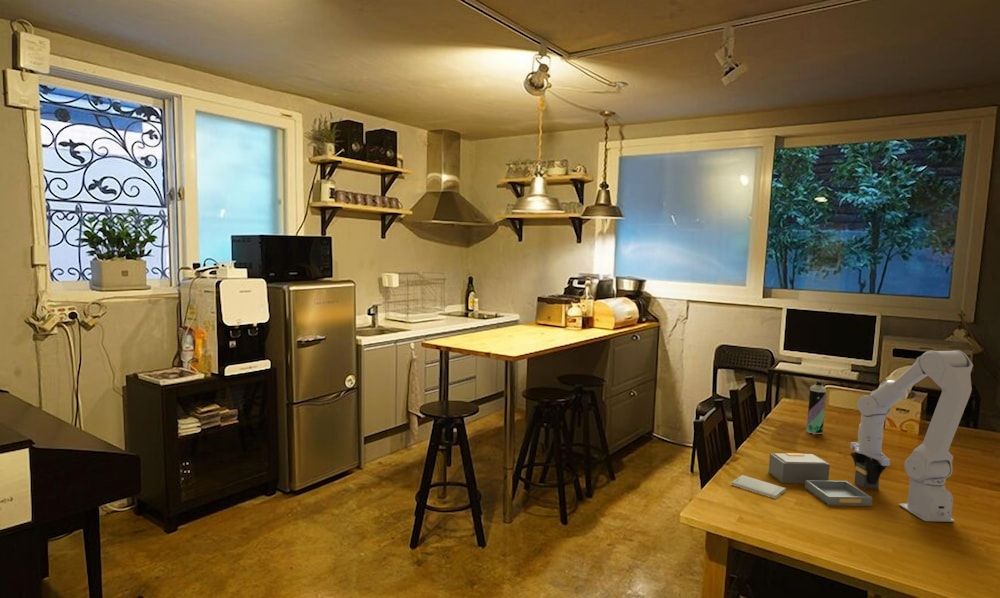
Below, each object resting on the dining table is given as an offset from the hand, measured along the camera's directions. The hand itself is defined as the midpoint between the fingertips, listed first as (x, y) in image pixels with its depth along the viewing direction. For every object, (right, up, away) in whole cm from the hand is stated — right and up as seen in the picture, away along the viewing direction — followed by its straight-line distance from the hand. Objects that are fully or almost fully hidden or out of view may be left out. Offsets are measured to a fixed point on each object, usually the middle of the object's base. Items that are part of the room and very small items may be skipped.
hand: (866, 480), depth 170 cm
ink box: (+15, 0, +24) cm, 28 cm away
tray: (-14, -2, -8) cm, 16 cm away
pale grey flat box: (-18, -1, +4) cm, 19 cm away
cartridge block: (0, -2, 0) cm, 2 cm away
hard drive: (-34, -2, -4) cm, 34 cm away
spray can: (+12, +2, +50) cm, 52 cm away
